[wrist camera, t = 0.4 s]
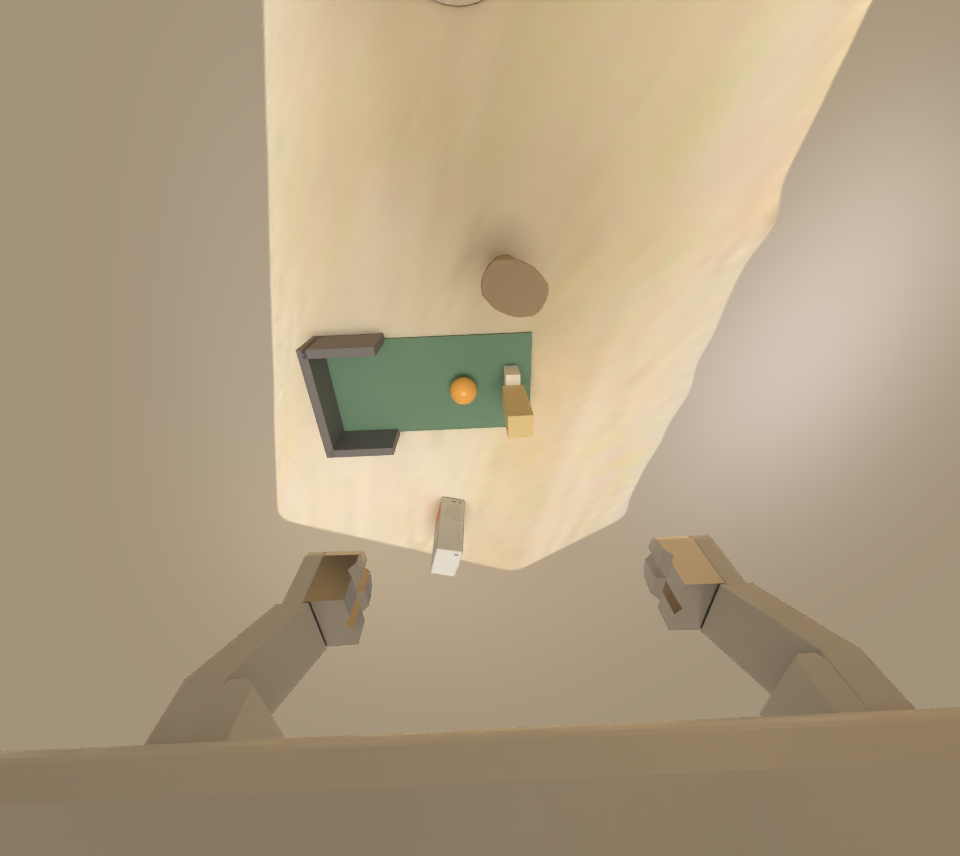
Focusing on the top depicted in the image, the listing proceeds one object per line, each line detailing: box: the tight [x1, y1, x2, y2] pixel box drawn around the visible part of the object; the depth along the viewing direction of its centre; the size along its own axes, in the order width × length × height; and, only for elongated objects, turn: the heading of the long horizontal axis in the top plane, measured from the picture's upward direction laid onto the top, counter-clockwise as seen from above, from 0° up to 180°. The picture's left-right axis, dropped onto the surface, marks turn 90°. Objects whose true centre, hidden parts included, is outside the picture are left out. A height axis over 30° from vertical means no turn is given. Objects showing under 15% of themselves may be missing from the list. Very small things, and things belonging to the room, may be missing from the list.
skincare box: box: [430, 497, 464, 576], centre depth 64 cm, size 6×4×12 cm
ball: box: [450, 377, 477, 405], centre depth 55 cm, size 4×4×4 cm
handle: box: [481, 255, 548, 317], centre depth 42 cm, size 5×6×15 cm
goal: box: [296, 334, 400, 458], centre depth 54 cm, size 16×10×6 cm, turn 2°
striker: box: [502, 365, 533, 438], centre depth 50 cm, size 6×3×13 cm, turn 2°
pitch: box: [326, 332, 532, 431], centre depth 56 cm, size 15×31×1 cm, turn 92°
